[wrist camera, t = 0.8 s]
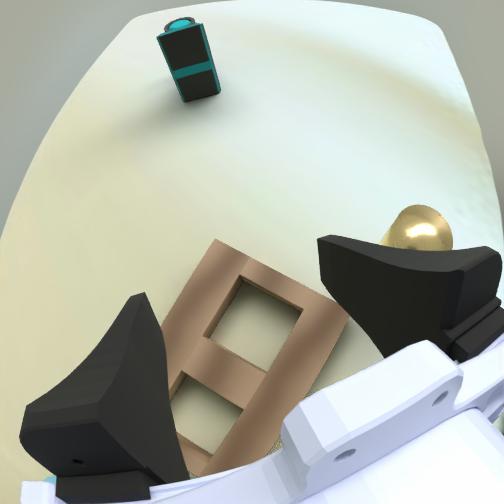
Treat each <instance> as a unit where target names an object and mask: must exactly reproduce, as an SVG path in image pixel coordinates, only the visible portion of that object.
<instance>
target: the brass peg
mask: <svg viewBox="0 0 504 504" xmlns="http://www.w3.org/2000/svg"><path fill="white" fill-rule="evenodd" d="M378 245H383V246H389V247H394V248H401V249H411V250H425V251H447V250H452V248H453V237H452V233H451V229H450V227H449V225H448V223H447V222H446V220H445V219H444V217H443V216H442V215H441V214H440V213H438V212H437V211H436V210H434V209H433V208H431V207H428V206H425V205H412V206H409V207H407V208H405V209H404V210H403V211H402V212H401V213H400V214H399V215H398V217H397V218H396V220H395V221H394V223H393V224H392V226H391V227H390V228H389V230H388V231H387V233H386V234H385V236H384V237H383V238H382V240H381V241H380V243H379V244H378Z"/></svg>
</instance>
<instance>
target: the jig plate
mask: <svg viewBox="0 0 504 504" xmlns="http://www.w3.org/2000/svg"><path fill="white" fill-rule="evenodd" d="M243 281H245V282H247V283H249V284H250V285H252V286H254V287H256V288H258V289H260V290H261V291H263V292H265V293H267V294H269V295H270V296H272V297H274V298H276V299H278V300H280V301H282V302H283V303H285V304H287V305H289V306H291V307H293V308H294V309H296V310H298V311H300V312H302V313H301V315H300V317H299V319H298V321H297V322H296V324H295V326H294V328H293V329H292V331H291V333H290V335H289V336H288V338H287V340H286V342H285V343H284V345H283V347H282V349H281V350H280V352H279V354H278V355H277V357H276V359H275V360H274V362H273V364H272V365H271V367H270V369H269V370H268V372H266V371H264V370H262V369H260V368H258V367H257V366H255V365H253V364H252V363H250V362H248V361H246V360H245V359H243V358H241V357H240V356H238V355H236V354H235V353H233V352H231V351H230V350H228V349H226V348H225V347H223V346H221V345H220V344H218V343H216V342H215V341H213V340H212V339H210V336H211V334H212V333H213V331H214V329H215V328H216V326H217V324H218V323H219V321H220V319H221V318H222V316H223V314H224V313H225V311H226V309H227V308H228V306H229V304H230V303H231V301H232V299H233V298H234V296H235V294H236V293H237V291H238V289H239V288H240V286H241V284H242V283H243ZM349 317H350V315H349V314H348V313H347V312H346V311H345V310H344V309H343V308H342V307H341V306H340V305H339V304H338V303H336V302H335V301H333V300H331V299H329V298H327V297H325V296H323V295H321V294H319V293H317V292H315V291H314V290H312V289H310V288H308V287H306V286H304V285H302V284H300V283H298V282H296V281H295V280H293V279H291V278H289V277H287V276H285V275H283V274H281V273H279V272H277V271H276V270H274V269H272V268H270V267H268V266H266V265H264V264H262V263H260V262H259V261H257V260H255V259H253V258H251V257H249V256H247V255H245V254H243V253H242V252H240V251H238V250H236V249H234V248H232V247H230V246H228V245H226V244H225V243H223V242H221V241H219V240H217V239H214V241H213V242H212V244H211V246H210V247H209V249H208V250H207V252H206V253H205V255H204V257H203V258H202V260H201V261H200V263H199V265H198V266H197V268H196V269H195V271H194V272H193V274H192V276H191V277H190V279H189V281H188V282H187V284H186V285H185V287H184V289H183V290H182V292H181V293H180V295H179V297H178V298H177V300H176V302H175V303H174V305H173V307H172V308H171V310H170V312H169V313H168V315H167V316H166V318H165V320H164V321H163V323H162V325H161V326H160V328H161V330H162V332H163V337H164V342H165V348H166V354H167V370H168V385H169V398H170V402H171V400H172V398H173V397H174V395H175V393H176V392H177V390H178V388H179V387H180V385H181V384H182V382H183V380H184V379H185V377H186V375H187V374H188V375H190V376H191V377H193V378H194V379H196V380H197V381H199V382H200V383H202V384H203V385H205V386H206V387H208V388H209V389H211V390H213V391H214V392H216V393H217V394H219V395H221V396H222V397H224V398H225V399H227V400H229V401H230V402H232V403H234V404H235V405H237V406H239V407H241V408H242V409H244V410H243V412H242V413H241V415H240V416H239V418H238V420H237V421H236V423H235V424H234V426H233V427H232V429H231V430H230V432H229V433H228V435H227V436H226V438H225V439H224V440H223V442H222V443H221V445H220V446H219V448H218V449H217V451H216V452H215V454H214V455H212V454H210V453H208V452H207V451H205V450H204V449H202V448H200V447H199V446H197V445H196V444H194V443H193V442H191V441H189V440H188V439H186V438H185V437H183V436H182V435H181V434H179V433H178V432H176V433H177V436H178V440H179V444H180V448H181V451H182V454H183V458H184V461H185V464H186V467H187V470H188V471H189V472H191V473H192V474H194V475H196V476H197V477H199V478H200V477H204V476H209V475H213V474H217V473H220V472H224V471H228V470H231V469H235V468H238V467H242V466H245V465H248V464H252V463H254V462H256V461H258V460H260V459H262V458H264V457H265V456H266V455H267V454H268V452H269V451H270V449H271V448H272V447H273V445H274V444H275V442H276V441H277V439H278V438H279V436H280V431H281V427H282V423H283V420H284V418H285V417H286V416H287V415H288V414H289V413H290V411H291V410H292V409H293V408H294V407H295V406H296V405H297V404H298V403H299V402H300V401H302V400H303V399H304V398H305V396H306V394H307V393H308V391H309V389H310V388H311V386H312V384H313V383H314V381H315V379H316V378H317V376H318V374H319V372H320V371H321V369H322V367H323V365H324V364H325V362H326V360H327V358H328V356H329V355H330V353H331V351H332V349H333V347H334V346H335V344H336V342H337V340H338V338H339V336H340V334H341V332H342V330H343V329H344V327H345V325H346V323H347V321H348V319H349Z"/></svg>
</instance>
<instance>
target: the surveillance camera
mask: <svg viewBox="0 0 504 504" xmlns="http://www.w3.org/2000/svg"><path fill="white" fill-rule="evenodd" d="M164 30H165V33H162V34H160V35H159V36H157V37H156V38H157V40H158V43H159V45H160V47H161V50H162V52H163V55H164V57H165V59H166V62H167V64H168V67H169V69H170V71H171V74H172V76H173V79H174V81H175V83H176V86H177V88H178V91H179V93H180V95H181V98H182V100H183V102H190V101H194V100H197V99H201V98H205V97H208V96H212V95H216V94H218V93H220V91H221V88H220V84H219V80H218V76H217V73H216V69H215V65H214V62H213V58H212V54H211V50H210V47H209V43H208V40H207V36H206V33H205V29H204V26H203V23H202V24H199V23H195V20H194V18H191V17H184V18H179V19H176V20H174V21H172V22H170V23H168V24H167V25H166V26H165V28H164Z"/></svg>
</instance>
